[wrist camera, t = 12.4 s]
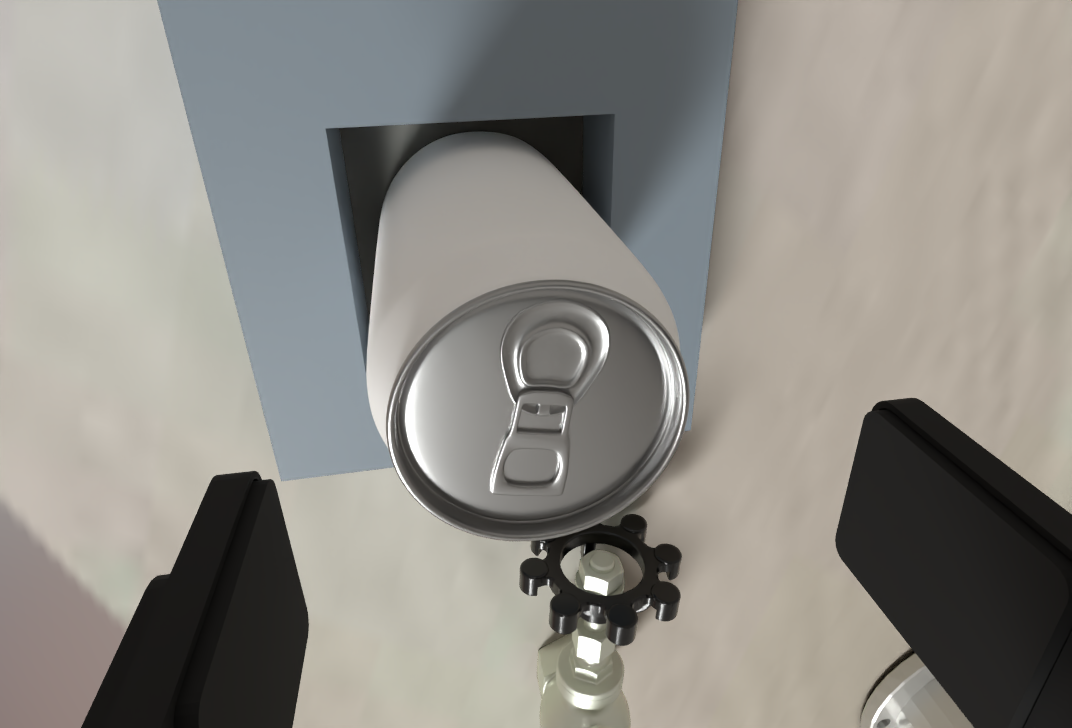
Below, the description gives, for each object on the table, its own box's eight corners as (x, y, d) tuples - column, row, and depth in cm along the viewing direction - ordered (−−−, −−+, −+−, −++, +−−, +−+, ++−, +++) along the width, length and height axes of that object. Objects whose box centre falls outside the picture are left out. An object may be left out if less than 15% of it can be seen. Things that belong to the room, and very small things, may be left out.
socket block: (688, -22, 20) (741, -25, 17) (657, 381, 27) (690, 430, 24) (194, -12, 18) (153, -14, 15) (295, 422, 25) (281, 481, 22)
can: (589, 142, 22) (758, 277, 11) (553, 322, 25) (663, 558, 14) (386, 112, 20) (370, 234, 10) (373, 307, 23) (351, 558, 13)
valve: (626, 675, 36) (654, 498, 30) (670, 804, 30) (714, 615, 24) (503, 692, 35) (507, 512, 29) (525, 830, 29) (535, 639, 23)
